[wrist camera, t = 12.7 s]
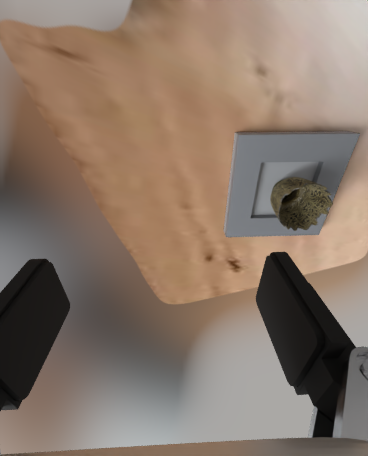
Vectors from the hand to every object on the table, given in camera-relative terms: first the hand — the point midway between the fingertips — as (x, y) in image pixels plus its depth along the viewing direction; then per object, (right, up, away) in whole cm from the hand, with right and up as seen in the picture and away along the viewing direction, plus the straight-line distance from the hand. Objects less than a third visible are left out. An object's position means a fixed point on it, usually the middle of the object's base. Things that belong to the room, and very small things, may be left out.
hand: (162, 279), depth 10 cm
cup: (+18, +9, +27) cm, 34 cm away
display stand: (+18, +10, +28) cm, 35 cm away
